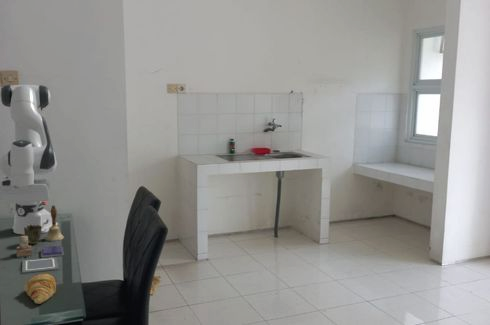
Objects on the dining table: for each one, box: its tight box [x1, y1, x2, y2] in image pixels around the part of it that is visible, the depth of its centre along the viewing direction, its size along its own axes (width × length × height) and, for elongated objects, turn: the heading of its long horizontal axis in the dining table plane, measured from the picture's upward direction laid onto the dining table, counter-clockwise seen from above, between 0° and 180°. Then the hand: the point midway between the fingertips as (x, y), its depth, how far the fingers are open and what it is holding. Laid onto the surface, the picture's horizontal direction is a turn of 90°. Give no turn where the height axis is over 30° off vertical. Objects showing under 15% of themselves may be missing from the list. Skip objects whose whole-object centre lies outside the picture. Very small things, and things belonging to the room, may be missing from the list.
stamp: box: [16, 235, 32, 258], centre depth 198 cm, size 6×6×8 cm
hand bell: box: [44, 205, 65, 242], centre depth 220 cm, size 8×8×16 cm
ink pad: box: [40, 245, 65, 258], centre depth 202 cm, size 9×9×2 cm
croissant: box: [23, 272, 57, 305], centre depth 163 cm, size 21×10×8 cm, turn 21°
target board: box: [21, 256, 59, 274], centre depth 188 cm, size 13×13×1 cm
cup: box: [24, 225, 42, 246], centre depth 212 cm, size 8×7×8 cm
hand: (23, 212), depth 196 cm, fingers open, 8 cm apart
